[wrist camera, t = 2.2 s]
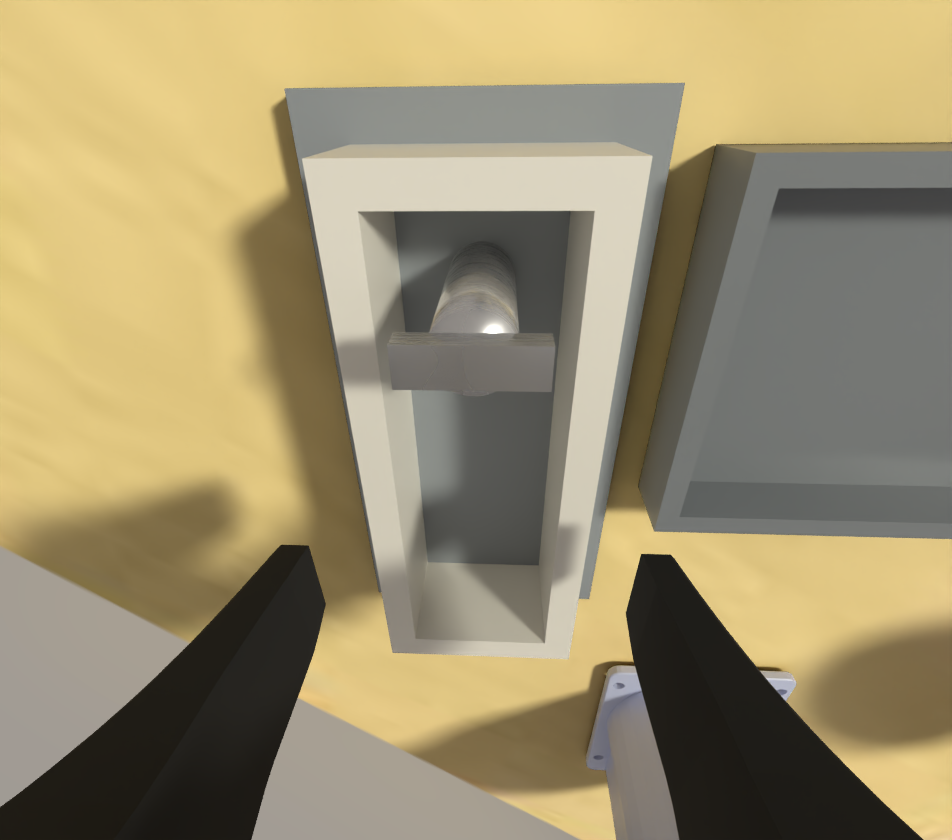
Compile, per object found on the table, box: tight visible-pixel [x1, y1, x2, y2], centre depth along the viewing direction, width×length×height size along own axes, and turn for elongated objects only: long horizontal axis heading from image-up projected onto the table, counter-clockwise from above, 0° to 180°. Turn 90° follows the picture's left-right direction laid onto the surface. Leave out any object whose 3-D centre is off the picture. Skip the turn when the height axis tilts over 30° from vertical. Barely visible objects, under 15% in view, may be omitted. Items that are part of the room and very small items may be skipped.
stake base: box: [285, 83, 685, 599], centre depth 12 cm, size 16×8×6 cm, turn 1°
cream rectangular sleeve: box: [302, 142, 653, 659], centre depth 13 cm, size 16×6×3 cm, turn 1°
